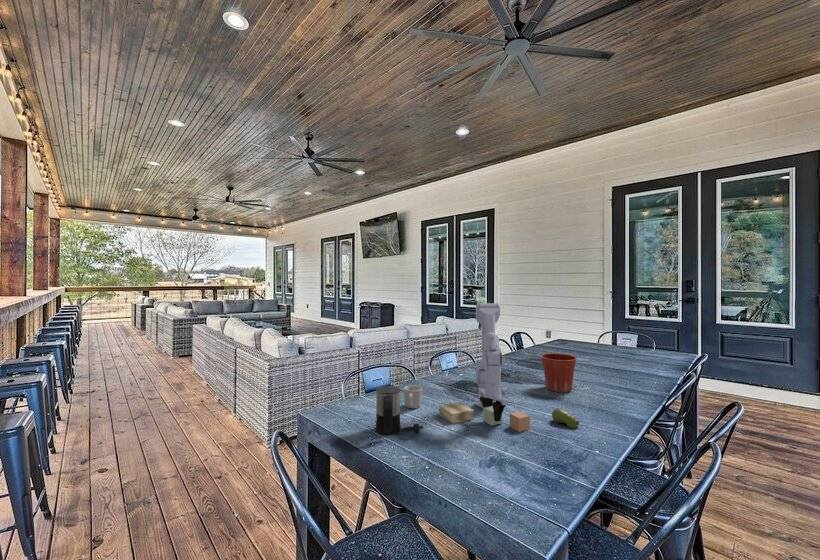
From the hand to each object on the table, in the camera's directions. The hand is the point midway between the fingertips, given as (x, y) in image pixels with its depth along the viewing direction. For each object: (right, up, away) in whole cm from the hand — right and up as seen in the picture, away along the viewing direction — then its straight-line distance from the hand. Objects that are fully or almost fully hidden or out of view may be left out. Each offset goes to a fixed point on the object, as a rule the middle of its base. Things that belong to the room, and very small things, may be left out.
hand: (492, 418), depth 141 cm
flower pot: (+42, -2, +43) cm, 60 cm away
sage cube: (0, -1, 0) cm, 1 cm away
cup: (-30, -2, +16) cm, 34 cm away
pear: (+27, -2, -1) cm, 27 cm away
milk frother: (-35, -2, -7) cm, 36 cm away
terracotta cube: (+9, -2, -5) cm, 10 cm away
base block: (-13, -2, +6) cm, 14 cm away
